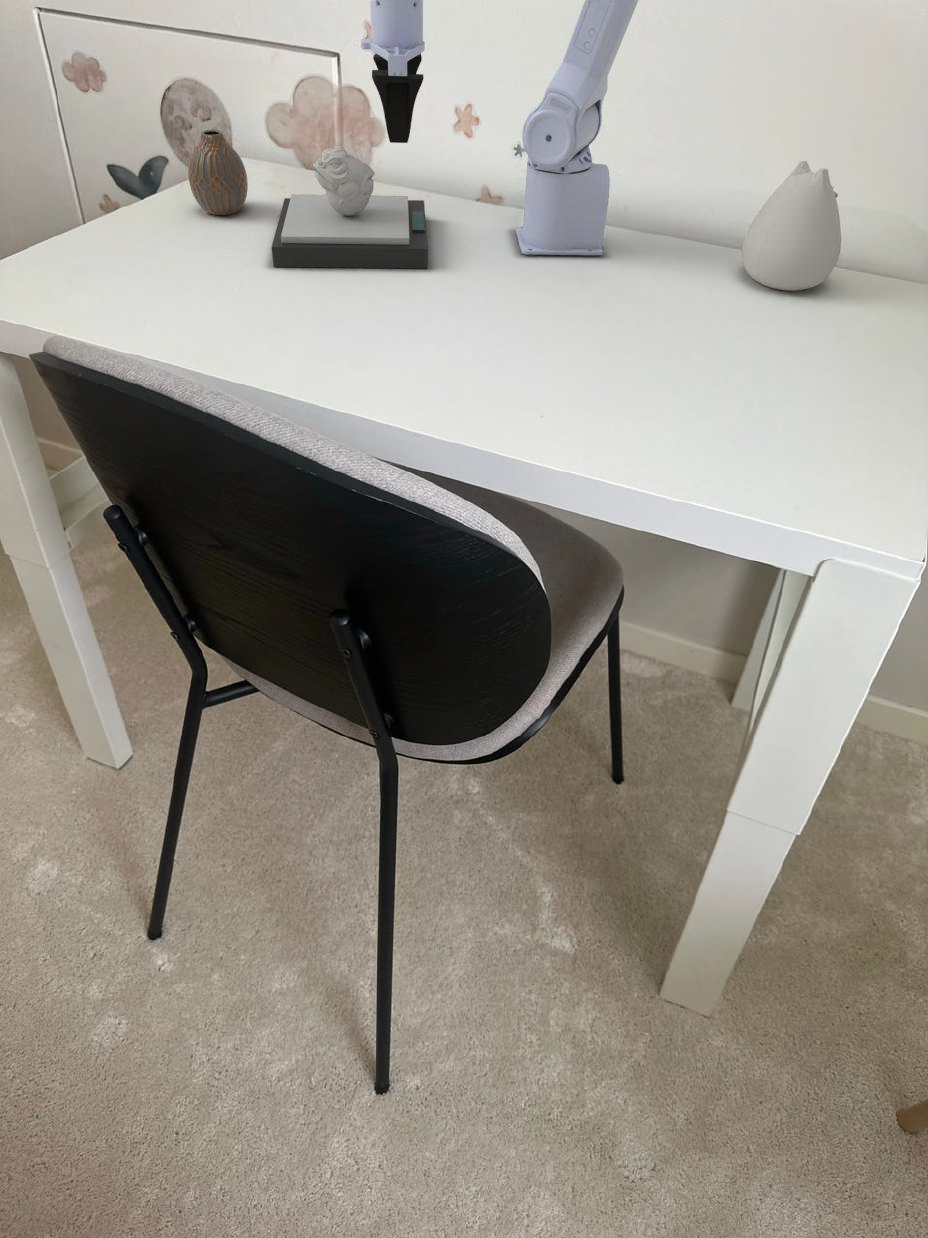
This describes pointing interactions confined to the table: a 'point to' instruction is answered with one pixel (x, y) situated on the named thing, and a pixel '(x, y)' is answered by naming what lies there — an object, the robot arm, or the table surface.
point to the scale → (351, 234)
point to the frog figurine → (344, 181)
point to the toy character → (795, 233)
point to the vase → (217, 175)
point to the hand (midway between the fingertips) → (398, 132)
